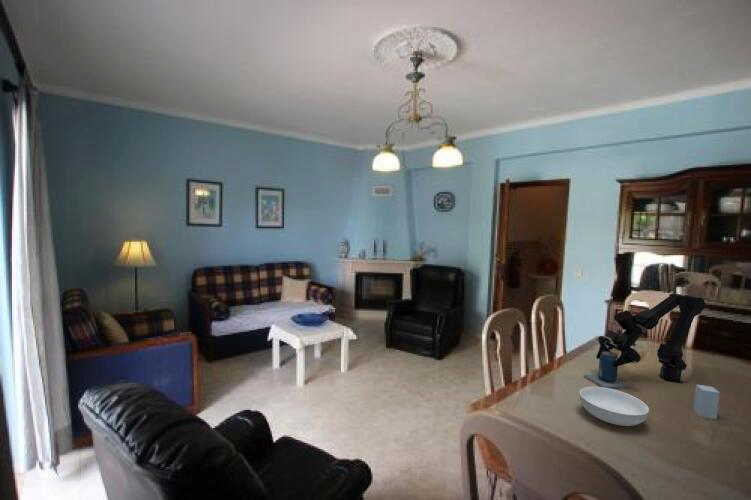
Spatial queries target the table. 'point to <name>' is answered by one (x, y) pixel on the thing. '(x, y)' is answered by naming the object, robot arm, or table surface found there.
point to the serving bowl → (613, 406)
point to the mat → (597, 381)
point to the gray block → (706, 401)
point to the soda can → (607, 367)
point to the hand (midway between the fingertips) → (604, 362)
